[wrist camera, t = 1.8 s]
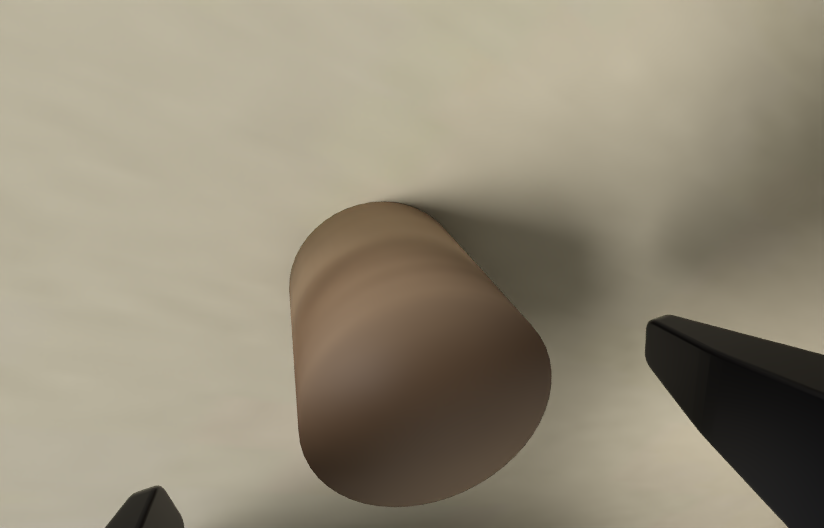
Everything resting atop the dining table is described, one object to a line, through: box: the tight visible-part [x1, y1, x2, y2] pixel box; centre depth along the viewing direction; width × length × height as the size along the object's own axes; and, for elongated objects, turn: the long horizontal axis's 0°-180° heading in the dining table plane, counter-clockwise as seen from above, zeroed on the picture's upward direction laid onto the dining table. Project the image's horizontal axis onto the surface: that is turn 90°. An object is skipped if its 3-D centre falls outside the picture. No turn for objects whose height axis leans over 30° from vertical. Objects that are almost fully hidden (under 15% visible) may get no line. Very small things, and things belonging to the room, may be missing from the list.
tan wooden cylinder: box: [289, 202, 551, 507], centre depth 11 cm, size 5×5×5 cm
